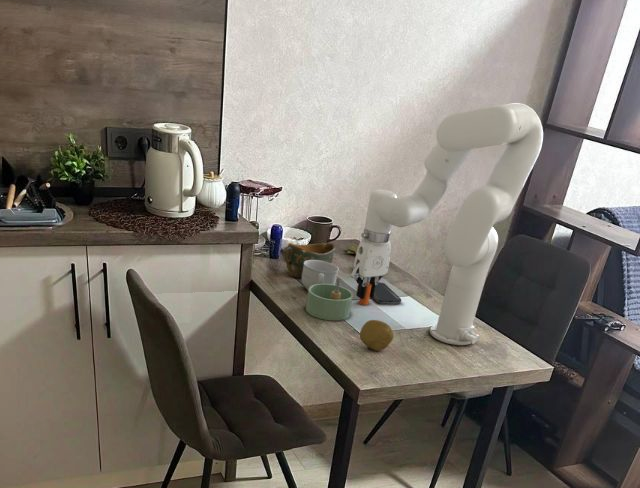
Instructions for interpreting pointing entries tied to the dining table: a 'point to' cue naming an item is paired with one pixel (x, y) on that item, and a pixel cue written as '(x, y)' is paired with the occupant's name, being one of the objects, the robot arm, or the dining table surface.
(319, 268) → the teacup
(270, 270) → the dining table surface
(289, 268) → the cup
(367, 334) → the potato
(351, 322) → the dining table surface
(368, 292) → the screwdriver
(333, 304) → the crock
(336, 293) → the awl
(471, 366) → the dining table surface
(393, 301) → the phone
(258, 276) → the dining table surface
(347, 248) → the lily flower
